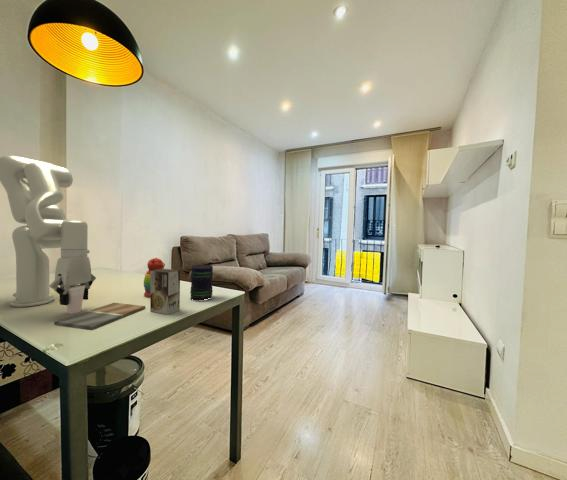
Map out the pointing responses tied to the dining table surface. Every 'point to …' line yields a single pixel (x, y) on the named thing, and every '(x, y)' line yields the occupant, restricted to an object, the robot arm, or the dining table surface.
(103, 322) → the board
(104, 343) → the dining table surface
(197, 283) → the storage jar
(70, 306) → the smoothie
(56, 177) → the robot arm
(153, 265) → the stacking bear
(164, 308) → the coffee box
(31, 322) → the dining table surface
